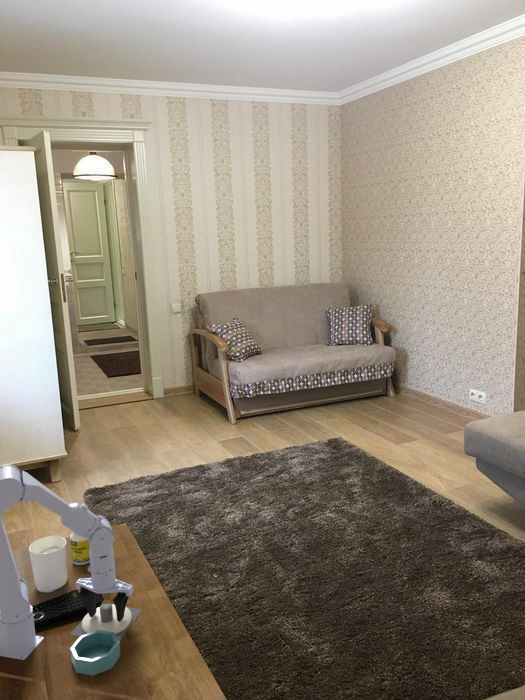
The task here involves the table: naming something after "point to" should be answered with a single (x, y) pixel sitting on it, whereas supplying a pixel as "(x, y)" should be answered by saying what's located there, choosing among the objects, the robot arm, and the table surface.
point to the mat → (135, 612)
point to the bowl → (95, 652)
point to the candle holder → (49, 563)
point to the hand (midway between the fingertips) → (106, 617)
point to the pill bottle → (79, 549)
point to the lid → (106, 620)
